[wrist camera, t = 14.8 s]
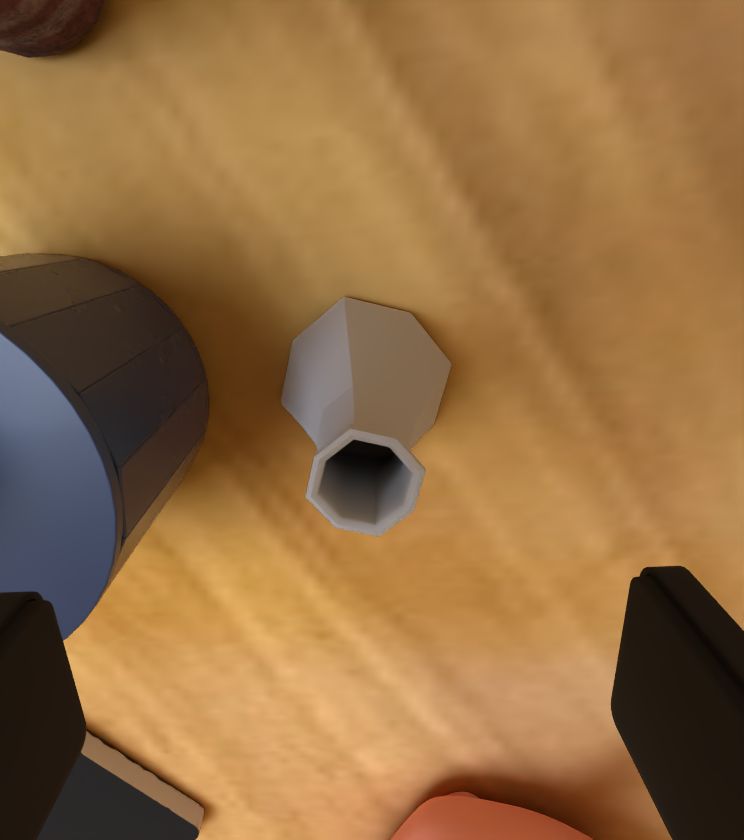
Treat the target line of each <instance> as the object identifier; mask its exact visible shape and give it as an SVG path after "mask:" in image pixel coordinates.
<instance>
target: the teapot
mask: <svg viewBox="0 0 744 840" xmlns="http://www.w3.org/2000/svg"><path fill="white" fill-rule="evenodd" d="M390 840H593V839H592V838H590V837H589V836H587V835H585V834H583V833H581V832H579V831H577V830H576V829H574V828H572V827H570V826H568V825H566V824H564V823H562V822H559V821H557V820H555V819H553V818H551V817H548V816H545V815H543V814H540V813H537V812H534V811H531V810H528V809H524V808H521V807H517V806H513V805H508V804H504V803H499V802H494V801H489V800H484V799H479V798H478V797H477V796H475V795H474V794H471V793H468V792H454V793H451V794H448V795H446V796H440V797H435V798H432V799H429V800H427V801H426V802H424V803H423V804H422V805H420V806H419V807H418V808H417V809H416V810H415V811H414V812H413V813H412V814H411V815H410V816H409V817H408V819H407V820H406V821H405V822H404V823H403V825H402V826H401V827H400V828H399V829H398V831H397V832H396V833H395V834H394V836H393V837H392V838H391V839H390Z"/></svg>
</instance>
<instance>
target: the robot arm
mask: <svg viewBox="0 0 744 840" xmlns="http://www.w3.org/2000/svg"><path fill="white" fill-rule="evenodd" d="M611 711H612V716H613V719H614V723H615V725H616V727H617V729H618V731H619V733H620V735H621V737H622V739H623V741H624V743H625V745H626V747H627V749H628V751H629V753H630V756H631V758H632V760H633V762H634V764H635V766H636V768H637V770H638V772H639V774H640V776H641V778H642V780H643V782H644V784H645V786H646V788H647V790H648V792H649V794H650V796H651V798H652V800H653V802H654V804H655V806H656V808H657V810H658V812H659V814H660V816H661V818H662V820H663V822H664V824H665V826H666V828H667V830H668V832H669V834H670V836H671V838H672V840H744V631H743V630H742V629H741V628H740V626H739V625H738V624H737V623H736V622H735V621H734V620H733V619H732V618H731V617H730V615H729V614H728V613H727V612H726V611H725V610H724V609H723V608H722V607H721V606H720V604H719V603H718V602H717V601H716V600H715V599H714V598H713V597H712V596H711V595H710V593H709V592H708V591H707V590H706V589H705V588H704V587H703V586H702V585H701V584H700V582H699V581H698V580H697V579H696V578H695V577H694V576H693V575H692V574H691V573H690V571H689V570H687V569H686V568H685V567H682V566H664V567H646V568H644V569H643V570H642V572H641V574H640V577H634V578H633V579H632V580H631V583H630V588H629V594H628V600H627V606H626V612H625V619H624V625H623V631H622V637H621V643H620V649H619V655H618V661H617V667H616V673H615V679H614V686H613V692H612V698H611ZM85 738H86V721H85V718H84V714H83V710H82V707H81V703H80V700H79V696H78V693H77V689H76V686H75V682H74V679H73V675H72V671H71V668H70V664H69V661H68V657H67V654H66V650H65V647H64V643H63V640H62V636H61V632H60V629H59V625H58V622H57V618H56V615H55V611H54V608H53V605H52V603H51V602H50V601H47V600H43V598H42V596H41V595H40V594H39V593H38V592H35V591H27V592H2V593H0V840H37V838H38V836H39V834H40V832H41V830H42V828H43V826H44V824H45V822H46V820H47V818H48V816H49V814H50V812H51V810H52V808H53V806H54V804H55V802H56V800H57V798H58V796H59V794H60V792H61V790H62V788H63V786H64V784H65V782H66V780H67V778H68V776H69V774H70V772H71V770H72V768H73V766H74V764H75V762H76V760H77V758H78V756H79V754H80V752H81V750H82V748H83V746H84V742H85Z"/></svg>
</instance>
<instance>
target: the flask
mask: <svg viewBox="0 0 744 840" xmlns="http://www.w3.org/2000/svg"><path fill="white" fill-rule="evenodd" d="M451 365H452V363H451V362H450V361H449V360H448V359H447V357H446V356H445V355H444V354H443V352H442V351H441V350H440V349H439V347H438V346H437V345H436V344H435V342H434V341H433V340H432V339H431V337H430V336H429V335H428V334H427V332H426V331H425V330H424V329H423V327H422V326H421V325H420V324H419V322H418V321H417V320H416V319H415V317H414V316H413V315H412V314H411V313H410V312H406V311H402V310H398V309H393V308H389V307H385V306H381V305H377V304H373V303H369V302H364V301H360V300H356V299H352V298H348V297H343V298H341V299H340V300H339V301H338V302H337V303H336V304H334V305H333V306H332V307H331V308H330V309H329V310H327V311H326V312H325V313H324V314H323V315H322V316H320V317H319V318H318V319H317V320H316V321H315V322H313V323H312V324H311V325H310V326H309V327H307V328H306V329H305V330H304V331H303V332H302V333H300V334H299V335H298V336H297V337H296V338H295V339H293V340H292V345H291V350H290V356H289V361H288V366H287V371H286V376H285V381H284V386H283V392H282V397H281V402H280V403H281V404H282V405H283V407H284V408H285V409H286V410H287V411H288V412H289V413H290V414H291V415H292V416H293V417H294V419H295V420H296V421H297V422H298V423H299V424H300V425H301V426H302V427H303V429H304V430H305V431H306V432H307V434H308V435H309V436H310V438H311V439H312V440H313V441H314V443H315V444H316V447H317V451H316V452H315V455H314V459H313V464H312V468H311V473H310V477H309V482H308V486H307V491H306V498H307V499H308V500H309V501H310V502H311V503H312V504H313V505H314V506H315V507H316V509H317V510H318V511H319V512H320V513H321V514H322V515H323V516H324V517H325V518H326V519H327V520H328V521H329V522H330V523H331V524H332V525H333V526H334V527H335V528H339V529H344V530H349V531H354V532H359V533H364V534H369V535H374V536H380V535H381V534H383V533H384V532H386V531H387V530H388V529H390V528H391V527H393V526H394V525H395V524H397V523H398V522H400V521H401V520H402V519H404V518H405V517H406V516H408V515H409V514H411V513H412V512H413V511H414V508H415V505H416V501H417V498H418V495H419V492H420V488H421V485H422V482H423V478H424V475H425V467H424V466H423V465H422V464H421V463H420V462H419V461H418V459H417V458H416V457H415V456H414V455H413V454H412V453H411V451H410V450H411V449H412V448H413V446H414V445H415V444H416V443H417V441H418V440H419V439H420V438H421V437H422V436H423V435H424V434H425V433H426V432H427V431H428V430H429V429H430V428H431V427H432V426H433V425H434V422H435V419H436V416H437V412H438V409H439V405H440V402H441V399H442V395H443V392H444V389H445V385H446V382H447V379H448V375H449V372H450V368H451Z"/></svg>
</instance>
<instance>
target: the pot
mask: <svg viewBox="0 0 744 840" xmlns="http://www.w3.org/2000/svg"><path fill="white" fill-rule="evenodd" d="M0 321H2V322H3V323H5V324H7V325H8V326H10V327H11V328H12V329H13V330H14V331H16V332H17V333H18V334H19V335H21V336H22V337H23V338H24V339H25V340H27V341H28V342H29V343H30V344H31V345H33V346H34V347H35V348H36V349H38V350H39V352H40V353H41V354H42V355H43V356H44V357H45V358H46V359H47V360H48V361H49V362H50V363H51V364H52V365H53V366H54V367H55V368H56V369H57V370H58V371H59V372H60V373H61V374H62V375H63V377H64V378H65V379H66V380H67V382H68V383H69V384H70V385H71V387H72V388H73V389H74V391H75V392H76V393H77V394H78V396H79V397H80V398H81V400H82V401H83V403H84V404H85V406H86V408H87V409H88V411H89V412H90V414H91V416H92V417H93V419H94V421H95V422H96V424H97V426H98V427H99V430H100V432H101V434H102V436H103V438H104V440H105V443H106V445H107V447H108V449H109V451H110V454H111V457H112V460H113V464H114V467H115V470H116V473H117V477H118V480H119V486H120V492H121V498H122V505H123V535H122V542H121V549H120V555H119V558H118V561H117V564H116V568H115V571H114V574H113V577H112V579H111V581H110V583H109V585H108V587H109V586H110V584H111V583H112V581H113V580H114V578H115V577H116V575H117V574H118V572H119V571H120V570H121V568H122V567H123V565H124V564H125V562H126V561H127V559H128V558H129V556H130V555H131V553H132V552H133V551H134V549H135V548H136V546H137V545H138V543H139V542H140V540H141V539H142V537H143V536H144V535H145V533H146V532H147V530H148V529H149V527H150V526H151V524H152V523H153V521H154V520H155V519H156V517H157V516H158V514H159V513H160V511H161V510H162V508H163V507H164V505H165V504H166V502H167V501H168V500H169V498H170V497H171V495H172V494H173V492H174V491H175V489H176V488H177V486H178V485H179V484H180V482H181V481H182V479H183V478H184V476H185V475H186V473H187V472H188V470H189V469H190V466H191V464H192V462H193V459H194V457H195V456H196V454H197V452H198V450H199V448H200V446H201V443H202V440H203V438H204V435H205V432H206V427H207V422H208V416H209V393H208V383H207V379H206V375H205V370H204V366H203V364H202V361H201V358H200V356H199V353H198V350H197V349H196V347H195V345H194V343H193V341H192V339H191V337H190V335H189V333H188V332H187V331H186V329H185V328H184V326H183V325H182V323H181V322H180V320H179V319H178V318H177V317H176V315H175V314H174V313H173V312H172V311H171V310H170V309H169V307H168V306H167V305H166V304H165V303H164V302H163V301H162V300H160V299H159V298H158V297H157V296H156V295H155V294H154V293H153V292H152V291H150V290H149V289H148V288H146V287H145V286H143V285H142V284H141V283H139V282H138V281H136V280H135V279H133V278H131V277H129V276H128V275H126V274H124V273H122V272H121V271H119V270H117V269H114V268H112V267H109V266H107V265H104V264H102V263H99V262H96V261H92V260H89V259H85V258H81V257H75V256H68V255H56V254H29V253H26V254H17V255H9V256H1V257H0ZM108 587H107V588H108ZM107 588H106V590H107ZM106 590H105V591H106ZM104 593H105V592H104Z"/></svg>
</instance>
